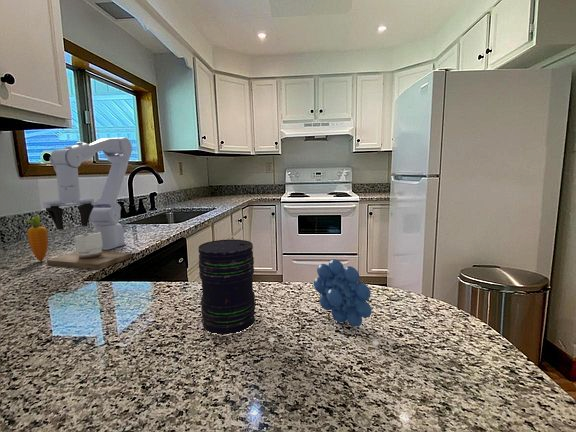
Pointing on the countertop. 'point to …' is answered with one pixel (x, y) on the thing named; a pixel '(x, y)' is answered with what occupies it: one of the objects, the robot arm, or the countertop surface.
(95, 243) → the cap
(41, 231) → the carrot
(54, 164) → the robot arm
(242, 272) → the dark blue cylinder
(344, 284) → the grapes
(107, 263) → the lock board
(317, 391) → the countertop surface
